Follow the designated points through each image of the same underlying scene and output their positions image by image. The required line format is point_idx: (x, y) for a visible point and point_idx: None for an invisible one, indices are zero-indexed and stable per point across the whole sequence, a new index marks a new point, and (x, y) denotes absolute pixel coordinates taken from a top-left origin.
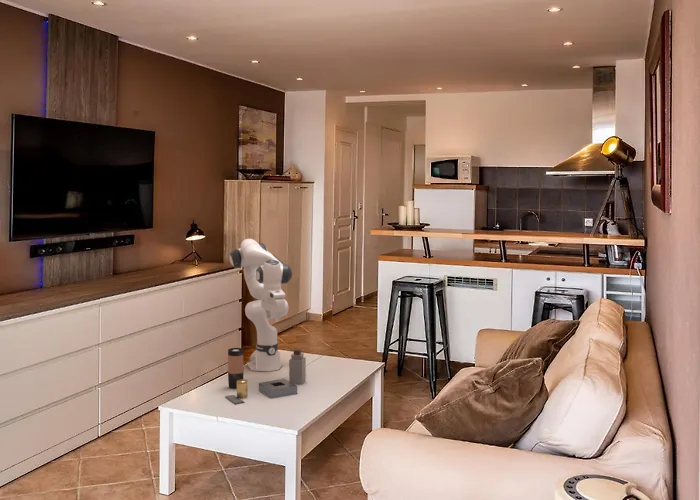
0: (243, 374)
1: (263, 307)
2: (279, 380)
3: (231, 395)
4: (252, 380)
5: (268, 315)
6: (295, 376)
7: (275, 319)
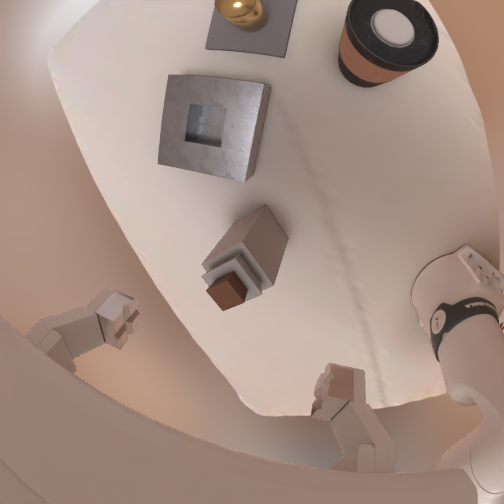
0: (352, 75)
1: (416, 489)
2: (237, 155)
3: (290, 4)
4: (401, 167)
5: (322, 398)
6: (240, 226)
7: (98, 298)
